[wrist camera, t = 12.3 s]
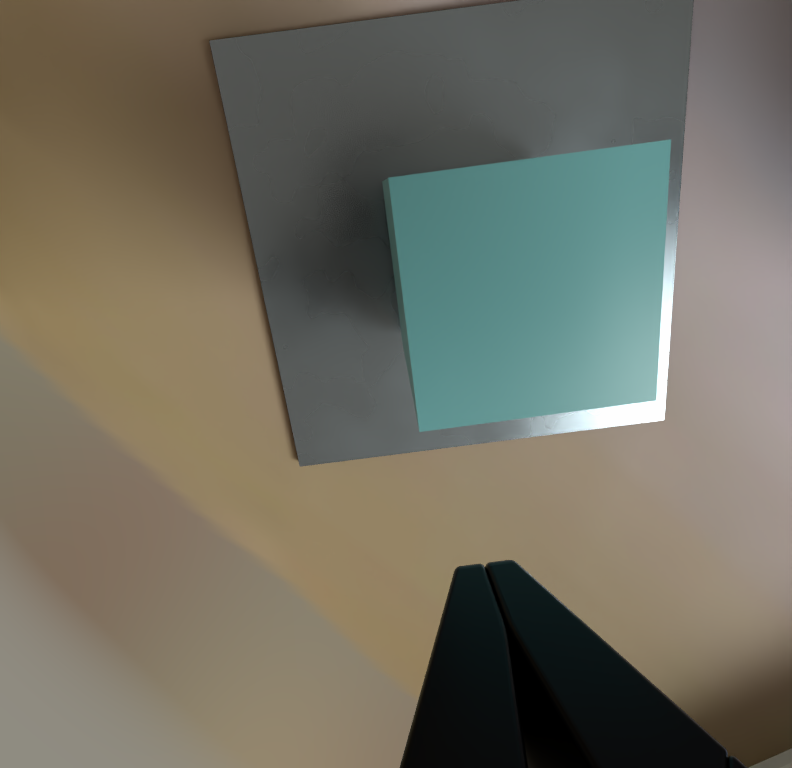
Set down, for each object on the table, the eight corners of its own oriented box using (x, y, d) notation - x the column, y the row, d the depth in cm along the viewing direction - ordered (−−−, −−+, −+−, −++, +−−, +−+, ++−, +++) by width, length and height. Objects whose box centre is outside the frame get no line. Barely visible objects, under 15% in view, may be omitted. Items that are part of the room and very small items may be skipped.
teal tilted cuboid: (553, 158, 16) (671, 139, 9) (556, 325, 18) (656, 401, 11) (382, 181, 16) (388, 177, 10) (402, 346, 18) (419, 432, 11)
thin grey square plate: (689, -19, 15) (936, -180, 9) (660, 416, 20) (801, 529, 13) (212, 43, 15) (87, -69, 9) (300, 462, 20) (265, 597, 14)
